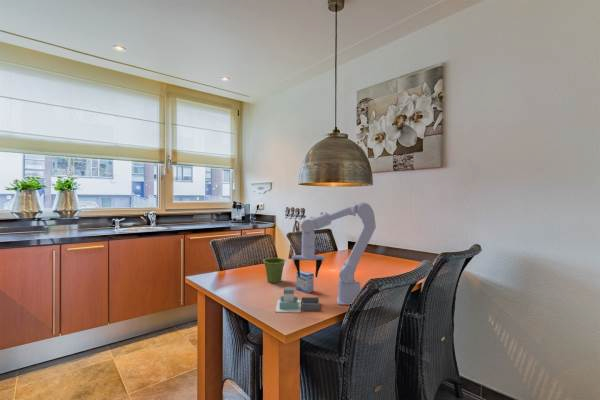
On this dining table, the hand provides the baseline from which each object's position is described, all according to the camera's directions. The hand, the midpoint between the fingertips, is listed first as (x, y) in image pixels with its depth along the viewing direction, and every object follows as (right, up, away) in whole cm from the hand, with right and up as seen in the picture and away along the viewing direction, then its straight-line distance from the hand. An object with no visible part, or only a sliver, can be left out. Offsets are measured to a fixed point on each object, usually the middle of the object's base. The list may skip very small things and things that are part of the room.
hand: (307, 276), depth 134 cm
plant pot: (-17, -9, +26) cm, 33 cm away
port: (-8, -10, -9) cm, 16 cm away
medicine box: (-1, -10, +12) cm, 16 cm away
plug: (-8, -10, -9) cm, 15 cm away
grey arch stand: (+1, -10, -9) cm, 13 cm away
